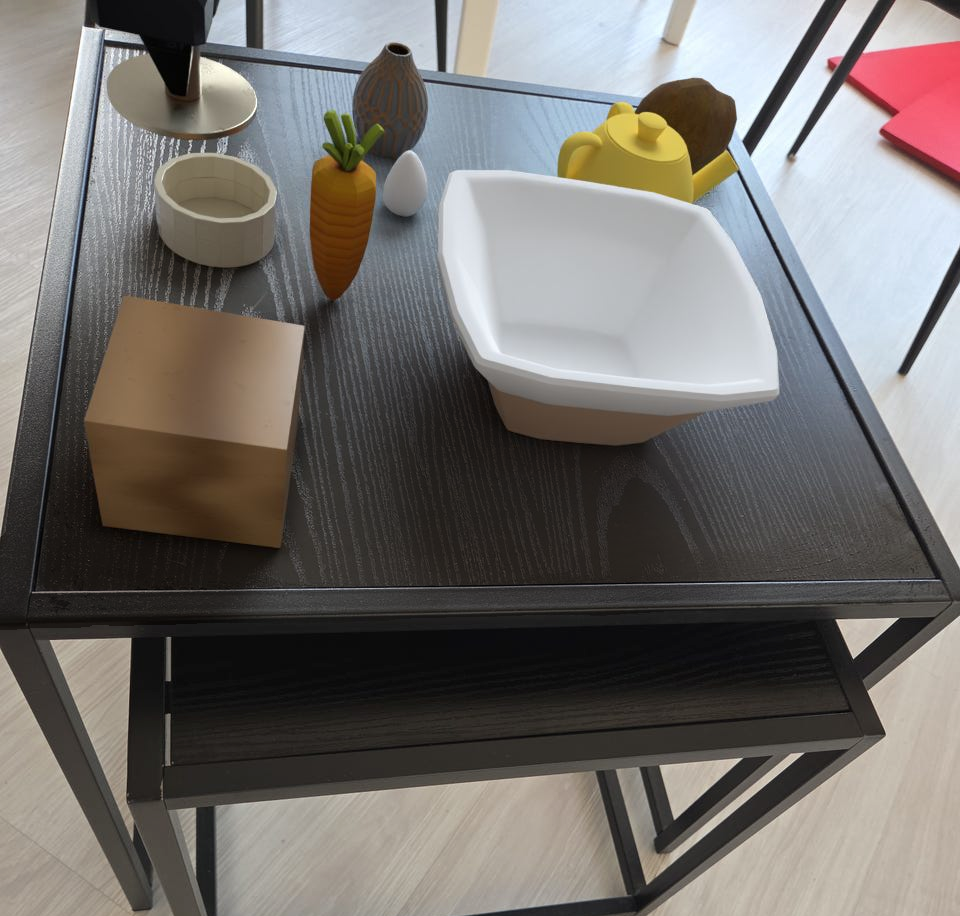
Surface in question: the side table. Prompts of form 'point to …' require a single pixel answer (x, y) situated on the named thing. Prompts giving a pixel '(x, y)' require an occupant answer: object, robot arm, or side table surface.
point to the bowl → (599, 306)
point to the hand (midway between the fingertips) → (182, 83)
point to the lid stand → (196, 422)
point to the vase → (391, 101)
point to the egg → (406, 185)
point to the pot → (215, 209)
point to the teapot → (639, 157)
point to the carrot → (341, 205)
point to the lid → (183, 99)
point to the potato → (695, 116)
